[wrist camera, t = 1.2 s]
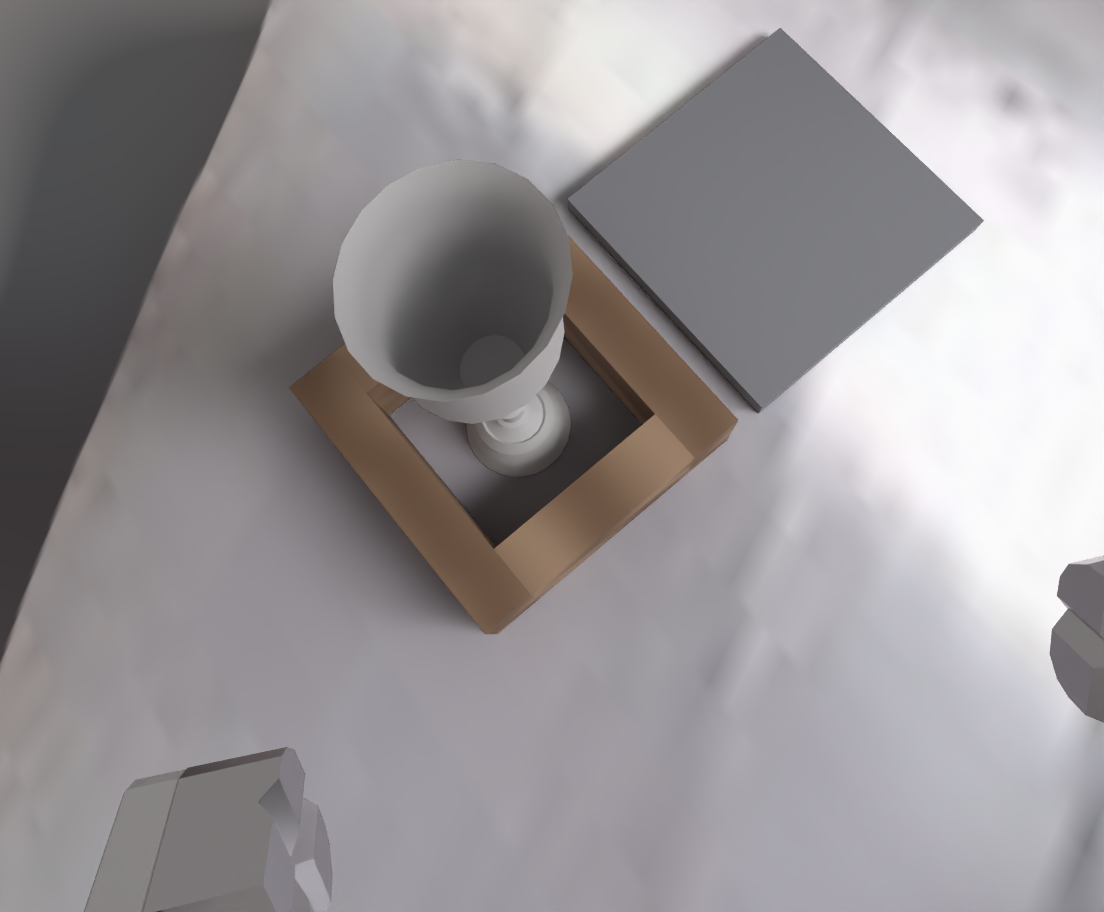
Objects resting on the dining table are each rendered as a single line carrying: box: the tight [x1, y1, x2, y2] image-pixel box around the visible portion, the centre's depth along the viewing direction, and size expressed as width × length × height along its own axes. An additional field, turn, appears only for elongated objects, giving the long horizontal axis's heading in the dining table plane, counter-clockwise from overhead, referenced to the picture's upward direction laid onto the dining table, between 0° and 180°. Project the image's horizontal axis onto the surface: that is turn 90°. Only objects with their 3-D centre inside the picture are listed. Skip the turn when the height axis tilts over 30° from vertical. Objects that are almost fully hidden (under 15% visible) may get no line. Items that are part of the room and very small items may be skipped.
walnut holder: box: [289, 236, 738, 634], centre depth 41 cm, size 14×14×4 cm
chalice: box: [333, 160, 573, 477], centre depth 34 cm, size 7×7×18 cm
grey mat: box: [567, 28, 984, 413], centre depth 43 cm, size 14×14×1 cm
